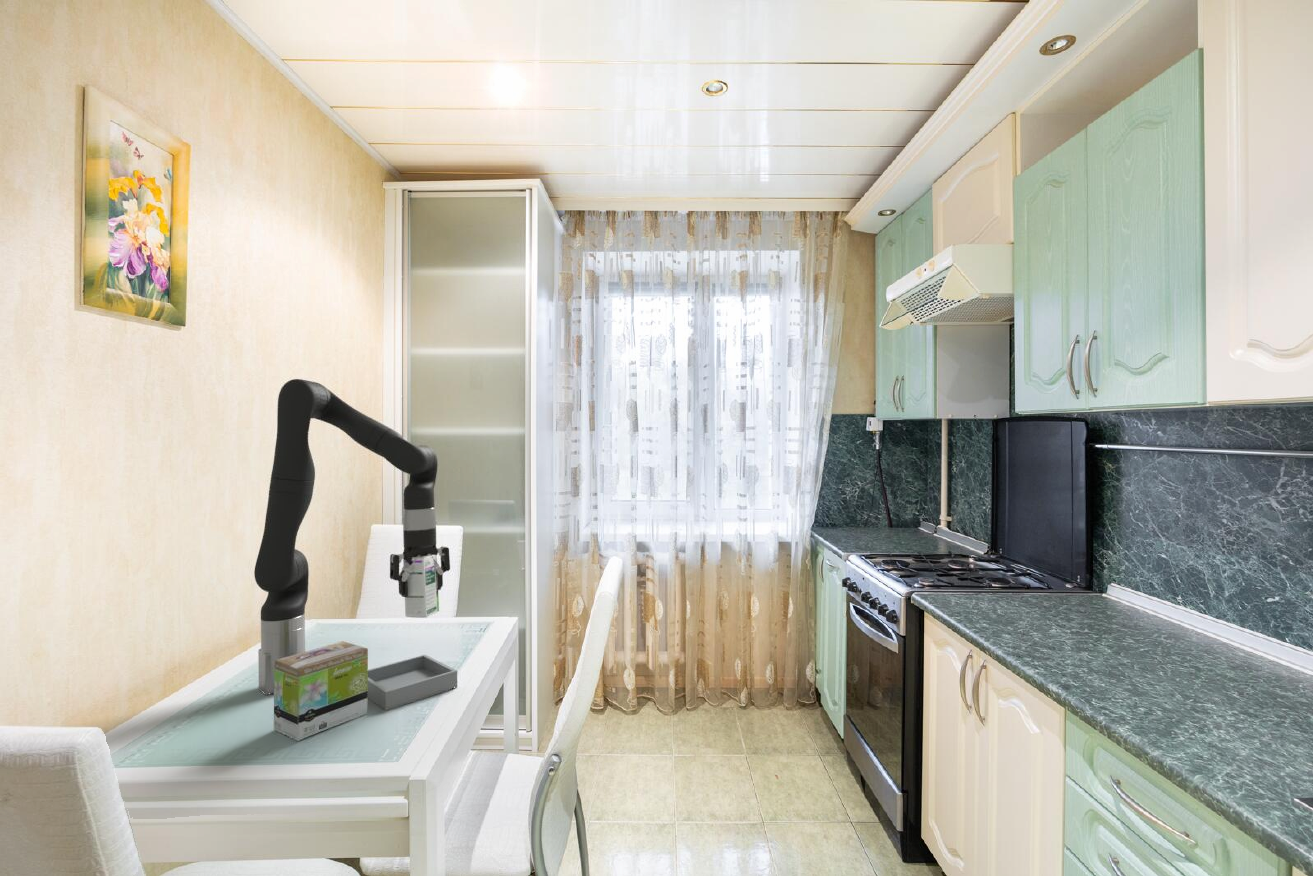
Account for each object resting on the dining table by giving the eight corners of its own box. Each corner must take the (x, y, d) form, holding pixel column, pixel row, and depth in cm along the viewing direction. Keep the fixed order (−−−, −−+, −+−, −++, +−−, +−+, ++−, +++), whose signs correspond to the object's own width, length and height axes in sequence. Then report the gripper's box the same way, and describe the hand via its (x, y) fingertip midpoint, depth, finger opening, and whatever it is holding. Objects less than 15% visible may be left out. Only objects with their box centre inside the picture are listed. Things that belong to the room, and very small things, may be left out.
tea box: (298, 743, 120) (298, 668, 120) (272, 731, 126) (272, 659, 126) (369, 714, 133) (368, 646, 133) (343, 704, 138) (342, 639, 138)
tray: (386, 710, 134) (385, 692, 134) (356, 689, 146) (356, 673, 146) (457, 687, 147) (457, 670, 147) (425, 669, 158) (425, 654, 158)
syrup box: (426, 618, 146) (424, 557, 146) (404, 617, 147) (402, 557, 147) (439, 611, 151) (438, 553, 151) (418, 610, 152) (416, 552, 152)
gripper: (440, 522, 157) (441, 585, 157) (384, 529, 147) (385, 596, 147) (454, 524, 152) (455, 589, 151) (396, 531, 141) (398, 601, 141)
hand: (421, 593), depth 149 cm, fingers closed on syrup box, 8 cm apart
